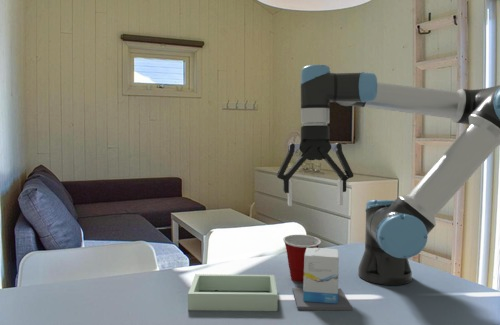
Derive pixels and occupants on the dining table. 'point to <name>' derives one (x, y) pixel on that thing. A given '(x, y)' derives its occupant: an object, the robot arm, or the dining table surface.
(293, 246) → the plastic cup
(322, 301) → the ink box
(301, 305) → the pad
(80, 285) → the dining table surface
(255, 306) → the bin
